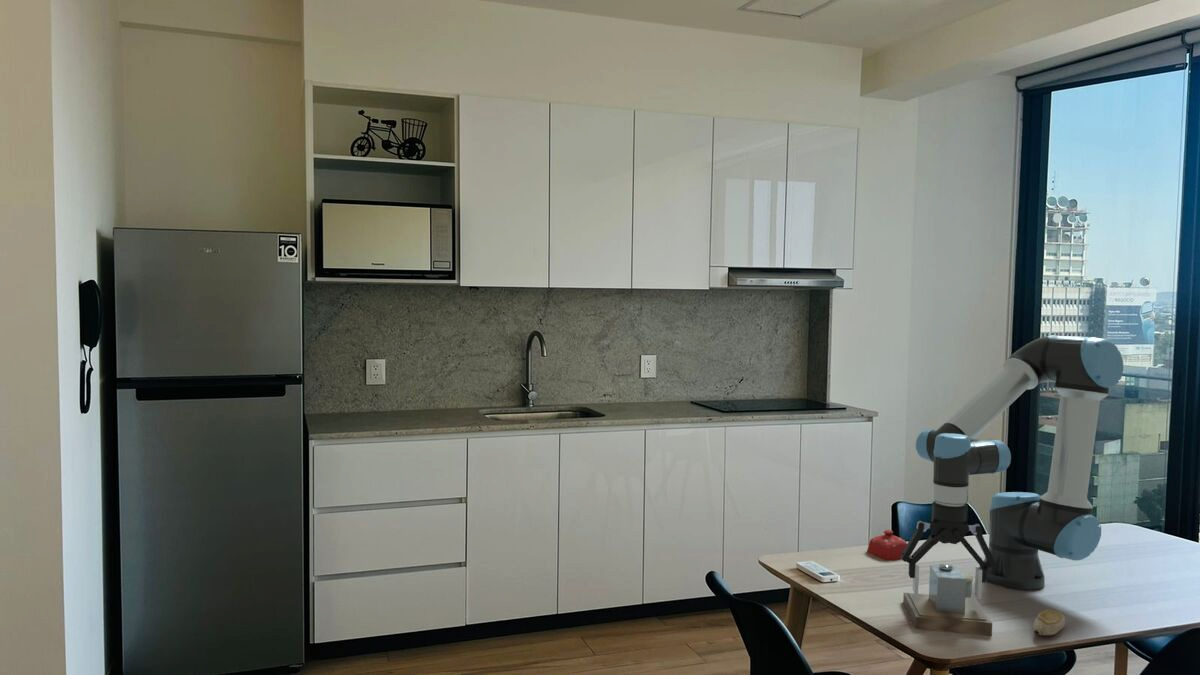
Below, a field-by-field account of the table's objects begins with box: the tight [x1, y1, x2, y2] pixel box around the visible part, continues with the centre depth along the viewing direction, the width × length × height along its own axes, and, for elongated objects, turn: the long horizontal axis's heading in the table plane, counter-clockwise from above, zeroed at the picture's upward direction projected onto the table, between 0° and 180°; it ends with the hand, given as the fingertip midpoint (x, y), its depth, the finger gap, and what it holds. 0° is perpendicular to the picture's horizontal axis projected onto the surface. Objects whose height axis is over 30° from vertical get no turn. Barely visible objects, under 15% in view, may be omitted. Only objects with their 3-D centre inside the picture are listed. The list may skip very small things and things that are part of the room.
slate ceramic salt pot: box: [961, 571, 974, 598], centre depth 213 cm, size 5×5×7 cm
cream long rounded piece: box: [1032, 608, 1066, 637], centre depth 195 cm, size 5×14×4 cm, turn 137°
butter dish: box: [866, 529, 908, 561], centre depth 247 cm, size 12×12×8 cm
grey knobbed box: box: [928, 563, 966, 614], centre depth 201 cm, size 9×6×9 cm, turn 170°
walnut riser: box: [902, 592, 993, 637], centre depth 202 cm, size 16×16×3 cm
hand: (946, 594), depth 201 cm, fingers open, 13 cm apart
